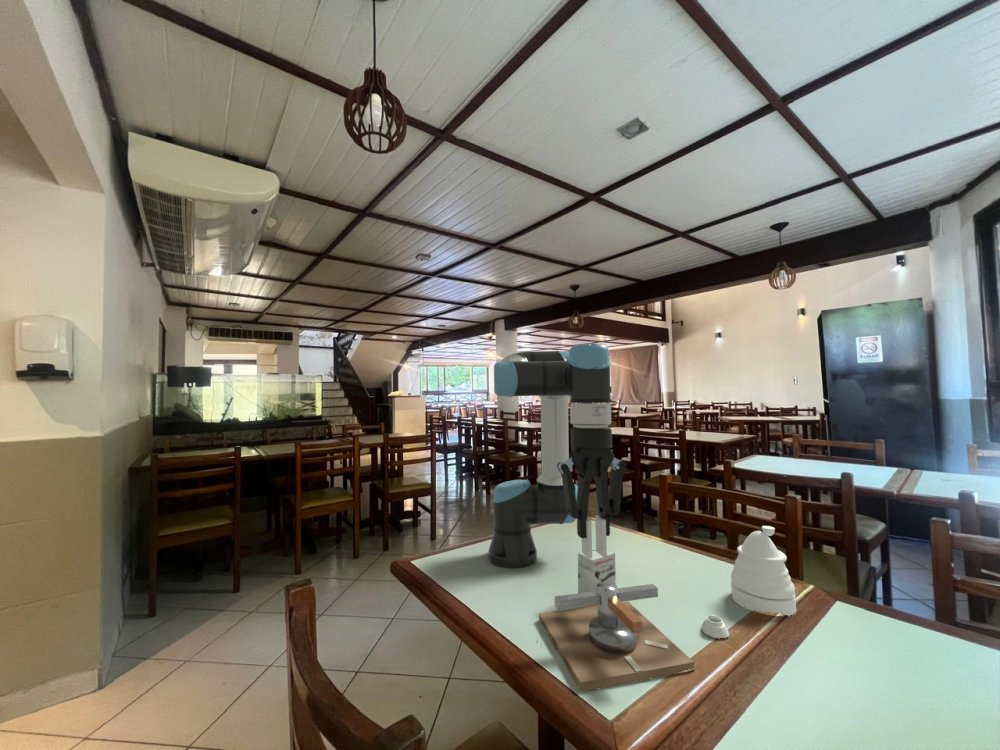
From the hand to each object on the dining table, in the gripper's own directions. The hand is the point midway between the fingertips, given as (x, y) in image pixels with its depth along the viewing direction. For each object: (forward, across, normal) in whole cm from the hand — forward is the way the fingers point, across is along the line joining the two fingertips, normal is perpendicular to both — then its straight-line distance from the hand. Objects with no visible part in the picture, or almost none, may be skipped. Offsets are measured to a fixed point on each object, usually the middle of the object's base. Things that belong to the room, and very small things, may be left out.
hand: (594, 554), depth 71 cm
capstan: (+19, +6, +7) cm, 21 cm away
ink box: (+21, +11, +22) cm, 32 cm away
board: (+20, +6, +7) cm, 22 cm away
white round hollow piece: (+21, +29, +5) cm, 36 cm away
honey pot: (+21, +50, +13) cm, 55 cm away
